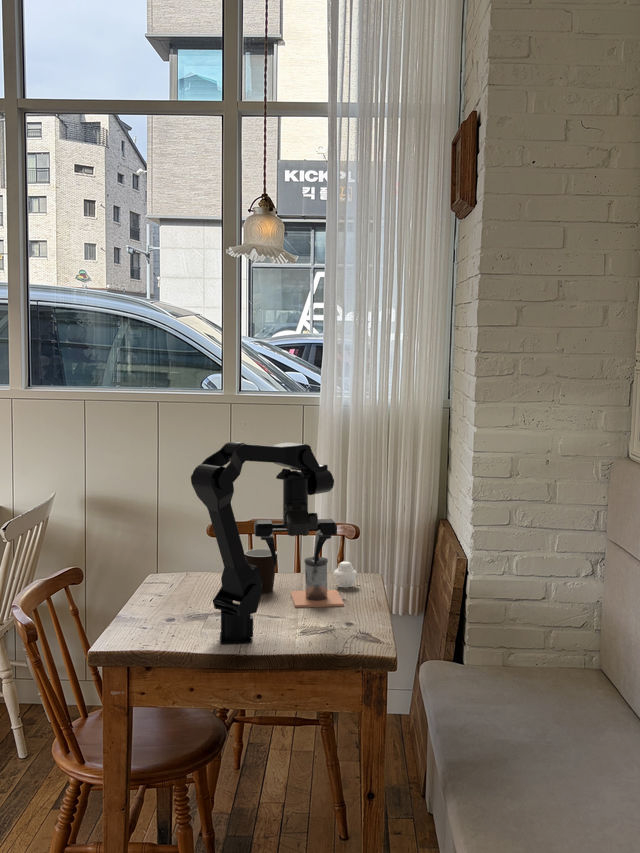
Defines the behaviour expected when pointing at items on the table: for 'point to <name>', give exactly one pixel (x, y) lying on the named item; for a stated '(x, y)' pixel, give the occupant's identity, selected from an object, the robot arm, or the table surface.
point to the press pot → (316, 578)
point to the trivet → (330, 601)
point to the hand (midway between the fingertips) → (295, 564)
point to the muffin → (345, 574)
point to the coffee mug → (263, 566)
